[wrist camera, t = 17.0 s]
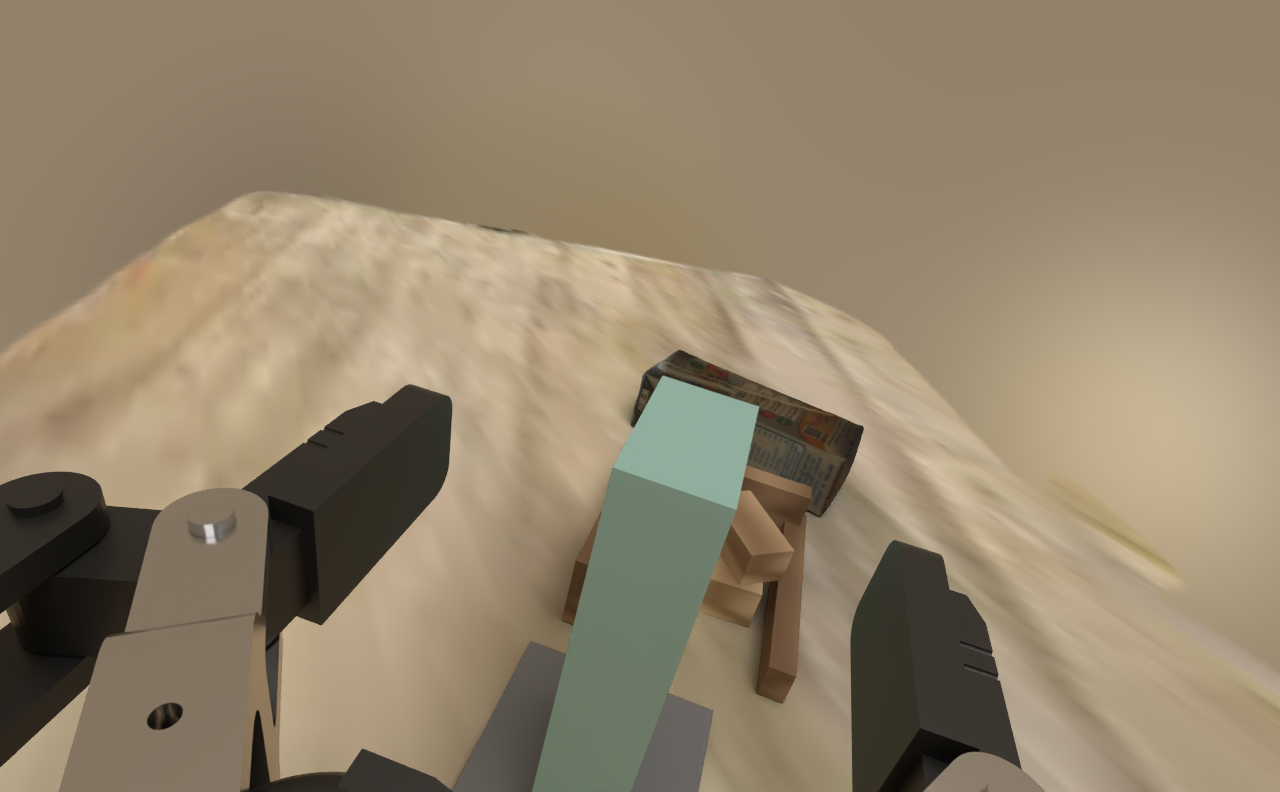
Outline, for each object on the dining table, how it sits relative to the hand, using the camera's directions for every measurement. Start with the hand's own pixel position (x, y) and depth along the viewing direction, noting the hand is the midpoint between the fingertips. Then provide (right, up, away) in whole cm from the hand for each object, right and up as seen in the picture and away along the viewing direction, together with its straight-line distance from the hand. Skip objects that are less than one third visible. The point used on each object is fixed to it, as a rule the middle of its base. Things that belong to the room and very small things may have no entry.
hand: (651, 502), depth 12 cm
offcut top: (+7, -9, +34) cm, 36 cm away
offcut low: (+6, -11, +35) cm, 38 cm away
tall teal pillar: (-3, -16, +22) cm, 27 cm away
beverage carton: (+9, -4, +50) cm, 51 cm away
